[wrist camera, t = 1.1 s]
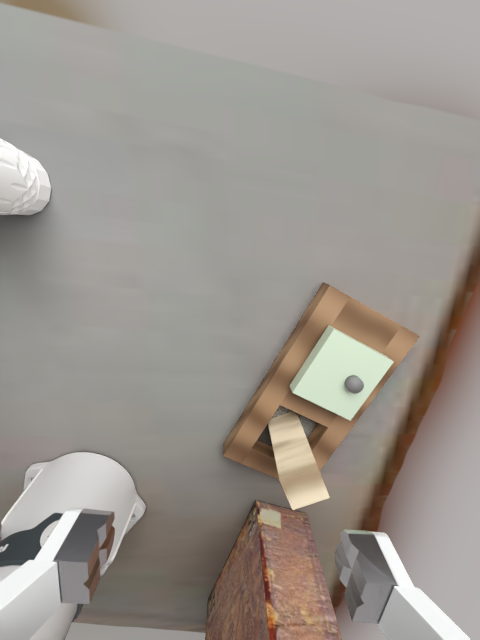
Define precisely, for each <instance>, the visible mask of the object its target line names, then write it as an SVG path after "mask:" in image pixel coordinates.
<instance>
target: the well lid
mask: <svg viewBox="0 0 480 640" xmlns="http://www.w3.org/2000/svg"><path fill="white" fill-rule="evenodd" d="M393 362H394V361H392V360H391V359H389V358H388V357H387V356H385V355H383V354H381V353H380V352H378V351H376V350H374V349H372V348H370V347H368V346H367V345H365V344H363V343H361V342H359V341H357V340H355V339H354V338H352V337H350V336H348V335H346V334H344V333H343V332H341V331H339V330H337V329H335V328H333V327H331V326H330V325H328V327H327V328H326V330H325V332H324V333H323V335H322V336H321V338H320V339H319V341H318V342H317V344H316V345H315V347H314V349H313V350H312V352H311V353H310V355H309V356H308V358H307V359H306V361H305V362H304V364H303V366H302V367H301V369H300V370H299V372H298V373H297V375H296V376H295V378H294V379H293V381H292V383H291V384H290V388H291V391H292V393H294V394H296V395H298V396H300V397H302V398H304V399H306V400H309V401H311V402H313V403H315V404H317V405H319V406H321V407H323V408H325V409H327V410H329V411H331V412H333V413H336V414H338V415H340V416H342V417H344V418H346V419H348V420H350V421H351V419H352V418H353V417H354V415H355V414H356V413H357V411H358V410H359V408H360V407H361V406H362V404H363V403H364V402H365V400H366V399H367V398H368V396H369V395H370V394H371V392H372V391H373V389H374V388H375V387H376V385H377V384H378V383H379V381H380V380H381V379H382V377H383V376H384V375H385V373H386V372H387V370H388V369H389V368H390V366H391V365H392V364H393Z"/></svg>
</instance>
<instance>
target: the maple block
mask: <svg viewBox="0 0 480 640" xmlns="http://www.w3.org/2000/svg"><path fill="white" fill-rule="evenodd" d="M268 426H269V431H270V436H271V441H272V446H273V451H274V456H275V460H276V465H277V470H278V475H279V480H280V483H281V485H282V488H283V490H284V492H285V494H286V496H287V499H288V501H289V503H290V505H291V508H292V510H295V509H298V508H301V507H304V506H307V505H310V504H313V503H316V502H319V501H322V500H325V499H328V498H330V497H329V495H328V492H327V489H326V487H325V484H324V482H323V479H322V476H321V474H320V471H319V469H318V466H317V463H316V461H315V458H314V456H313V453H312V451H311V448H310V445H309V443H308V440H307V438H306V435H305V432H304V430H303V427H302V425H301V422H300V420H299V417H298V414H297V413H296V412H294V411H290V412H288V413H285V414H282V415H279V416H277V417H274V418H271V419H270V421H269V422H268Z"/></svg>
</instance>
